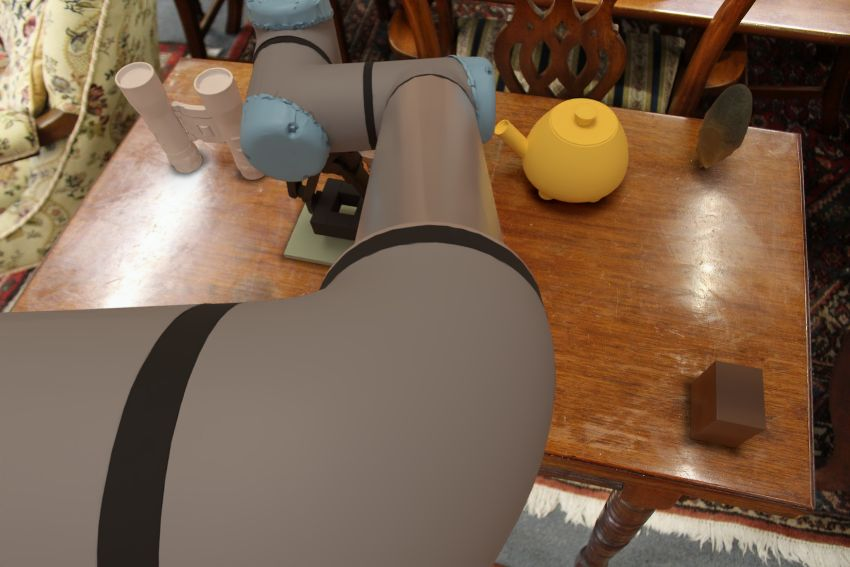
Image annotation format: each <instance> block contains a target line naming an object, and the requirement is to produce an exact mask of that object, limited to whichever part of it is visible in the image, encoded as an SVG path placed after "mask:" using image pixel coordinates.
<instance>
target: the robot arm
mask: <svg viewBox="0 0 850 567" xmlns="http://www.w3.org/2000/svg"><path fill="white" fill-rule="evenodd" d="M245 5H246V8H247V11H248V14H249V19H248V20H249V23H250V25H251V26H252V27H253V30H254V33H255V38H256V41H255V46H254V52H253V56H252V59H253V60H252V71H251V75H250V78H249V82H248V87H247V91H246V94H245V98H244V102H243V107H242V119H241V127H240V145H241V149H242V153H243V155H244V156H245V157H246V159H247V161H248V162H249V163H250V164H251V165H252V166H253V167H254V168H255V169H256V170H257V171H259V172H261V173H262V174H264V176H266V177H268V178H271V179H274V180H276V181H282V182H285V183H286V189H287V194H288V197H289V198H291V199H294V200H296V199H297V198H299V199H301V201H302V202H303V203H304V205H305V204H306V206H307V209H308V212H309V213H310V214H313V212H314V210H315V208H316V206H317V203H318V201H319V198H320V196H321V194H322V191H323V190H317V187H318V184H319V180H320V177H321V174H324V175H335V176H339V177H341V178H342V180H345V181H346V182H347V183H348V184H352V185H353V186H354V188H355V189H356V190H357V191H358V193H359V194H360V195H361V196H362V198H363V199H364V203H363V208H362V212H361V217H360V221H359V226H358V230H357V235H356V239H355V244H354V245H352V246H351V247H350V248H348V249H347V250H346V251H345V252H344V253H343V254H342V255H341V256H340V257H339V258H338V259H337V260H336V261H335V262H334V263H333V265H332V266H330V267H329V269H328V270H327V271H326V273H325V275H324V277H323V279H322V282H321V284H320V286H319V289H318V290H316V291H313V292H309V293H306V294H302V295H297V296H296V295H295V296H289V297H281V298H274V299H267V300H249V301H248V300H247V301H243V302H242V301H241V302H220V303H212V302H205V303H188V304H187V303H186V304H167V305H150V306H149V305H147V306H146V305H145V306H128V307H126V306H125V307H122V306H121V307H104V308H84V309H83V308H81V309H57V310H35V311H34V310H32V311H31V310H29V311H9V312H8V311H5V312H3V311H1V312H0V567H493V565H495V562H496V561H497V559H498V557H499V556H500V554H501V552H502V550H503V548H504V547H505V545H506V543H507V541H508V539H509V538H510V536H511V534H512V533H513V531H514V528H515V527H516V525H517V523H518V521H519V519H520V517H521V515H522V513H523V511H524V508H525V506H526V504H527V502H528V500H529V497H530V496H531V493H532V492H533V488H534V487H535V483H536V480H537V477H538V474H539V471H540V468H541V466H542V463H543V459H544V455H545V452H546V447H547V443H548V439H549V435H550V429H551V425H552V420H553V416H554V406H555V399H556V398H555V396H556V387H557V371H556V370H557V369H556V368H557V367H556V365H557V364H556V354H555V344H554V343H555V341H554V339H553V335H552V330H551V327H550V322H549V317H548V314H547V310H546V309H545V305H544V301H543V297H542V295H541V291H540V287H539V284H538V282H537V280H536V277H535V276H534V274H533V272H532V271H531V269H530V268H529V267H528V265H527V264H526V263H525V261H523V259H522V258H521V257H520V256H519V255H518V253H516V252H515V251H514V250H513V249H511V248H510V247H509V246H508V245H506V244H505V242H504V236H503V232H502V228H501V222H500V219H499V214H498V210H497V206H496V200H495V196H494V191H493V186H492V183H491V178H490V173H489V169H488V164H487V160H486V155H485V151H484V147H483V146H484V144H486V143H489V142H490V141H491V139H492V138H493V136H494V134H495V132H494V131H495V127H496V120H497V119H496V117H497V93H496V91H497V90H496V79H495V70H494V66H493V64H492V63H491V61H490V60H489V59H487V58H486V57H483V56H459V55H456V54H448V55H447V56H443V57H430V58H429V57H428V58H416V59H414V58H413V59H403V60H401V59H400V60H399V59H398V60H387V61H364V62H348V63H343V60H342V55H341V49H340V45H339V40H338V36H337V35H338V34H337V30H336V25H335V20H334V14H335V13H334V12H335V11H334V8H333V7H332V5H331V2H330V0H245ZM373 151H374V152H373ZM364 163H365V164H364ZM365 165H366V167H367V170H366V169H365ZM303 181H306V183H305V185H304V184H303V183H304V182H303ZM315 192H316V193H315Z"/></svg>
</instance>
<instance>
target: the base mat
mask: <svg viewBox="0 0 850 567" xmlns="http://www.w3.org/2000/svg"><path fill="white" fill-rule="evenodd" d="M315 193H316V191H315ZM356 208H357V207H352V206H345V205H342V206H341V208H340V211H339V213H344V214H350V215H354V214H355V211H356ZM312 215H313V214H310V213H309V212H308V209H307V206H306V204H305V203H304V205H303V207H302V210H301V212H300V214H299V217H298V219H297V221H296V224H295V226H294V229H293V231H292V233H291V235H290V238H289V240H288V242H287V245H286V247H285V250H284V252H283V256H284V258H286V259H290V260H296V261H302V262H307V263H312V264H317V265H323V266H328V267H329V266H330V267H331V266H332V265H333V263H334V262H335V261H336V260H337V259H338V258H339V257H340V256H341V255H342V254H343V253H344V252H345V251H346V250H347V249H348V248H350V247H351V246H352V245H354V244H355V241H353V240H346V239H340V238H334V237H329V236H323V235H317V234H314V231H313V229H312V226H311V224H310V220H311V217H312Z"/></svg>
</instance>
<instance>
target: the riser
mask: <svg viewBox="0 0 850 567" xmlns="http://www.w3.org/2000/svg"><path fill="white" fill-rule="evenodd" d="M689 387H690V388H689V389H690V390H689V391H690V392H689V394H690V396H689V397H690V402H689V407H690V408H689V412H690V413H689V420H690V421H689V439H690V440H695V441H699V442H706V443H710V444H714V445H718V446H723V447H728V448H736V447H738V446H740V445H741V444H743V443H745V442H747V441H748V440H751V439H752V438H754V437H756V436H758V435H759V434H761V433H762V432H765V431H766V430H767V424H766V423H767V422H766V407H765V389H764V374H763V368H759V367H753V366H748V365H743V364H737V363H732V362H728V361H721V360H715V361H713V362H712V363H711V364H710V365H709V366H708V367H707V368H706V369H704V371H703V372H702V373H700V375H698V377H697V378H696V379H694V380H693V381H692V382H691V383H690V386H689Z"/></svg>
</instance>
